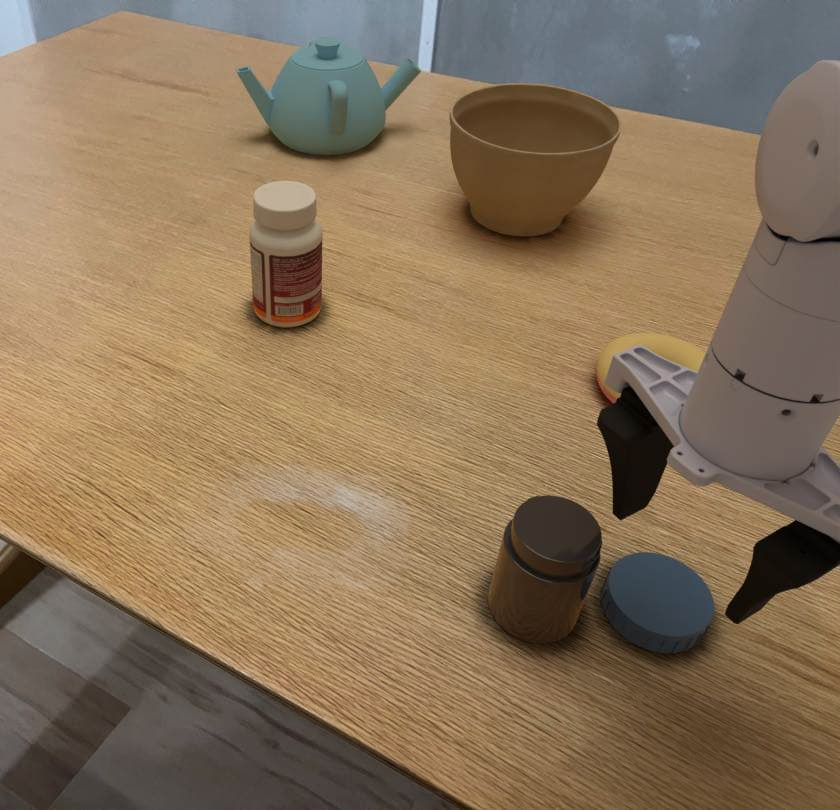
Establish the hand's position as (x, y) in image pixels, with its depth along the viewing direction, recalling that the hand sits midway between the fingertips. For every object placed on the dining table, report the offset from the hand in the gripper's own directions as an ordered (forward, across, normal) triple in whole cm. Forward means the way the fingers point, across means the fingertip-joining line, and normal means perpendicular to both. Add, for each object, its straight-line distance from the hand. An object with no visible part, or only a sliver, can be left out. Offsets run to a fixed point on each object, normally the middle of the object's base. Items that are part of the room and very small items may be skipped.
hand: (682, 557), depth 44 cm
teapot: (+8, -70, +20) cm, 73 cm away
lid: (+6, -1, +2) cm, 7 cm away
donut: (+8, -15, +18) cm, 25 cm away
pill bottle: (+8, -40, -2) cm, 41 cm away
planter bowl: (+8, -43, +27) cm, 51 cm away
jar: (+8, -5, -4) cm, 10 cm away
